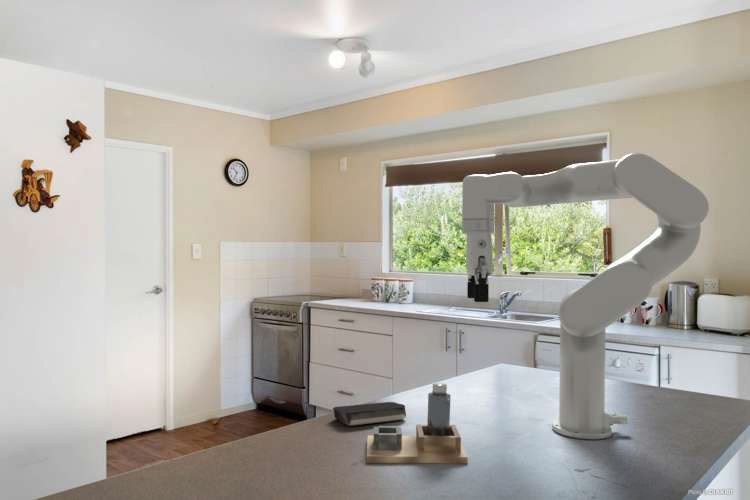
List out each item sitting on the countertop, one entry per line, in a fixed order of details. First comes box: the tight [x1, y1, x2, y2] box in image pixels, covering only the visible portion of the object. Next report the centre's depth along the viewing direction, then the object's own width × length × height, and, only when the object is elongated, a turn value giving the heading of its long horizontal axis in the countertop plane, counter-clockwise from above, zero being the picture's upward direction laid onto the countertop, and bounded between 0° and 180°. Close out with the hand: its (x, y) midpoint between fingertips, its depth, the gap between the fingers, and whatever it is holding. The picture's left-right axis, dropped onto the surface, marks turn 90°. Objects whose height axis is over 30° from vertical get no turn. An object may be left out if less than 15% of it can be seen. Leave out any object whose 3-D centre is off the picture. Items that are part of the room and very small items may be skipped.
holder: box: [366, 424, 469, 465], centre depth 114 cm, size 19×12×4 cm, turn 90°
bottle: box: [426, 382, 451, 436], centre depth 114 cm, size 4×4×12 cm
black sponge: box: [332, 401, 407, 426], centre depth 135 cm, size 16×8×4 cm, turn 113°
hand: (477, 299), depth 136 cm, fingers open, 9 cm apart
